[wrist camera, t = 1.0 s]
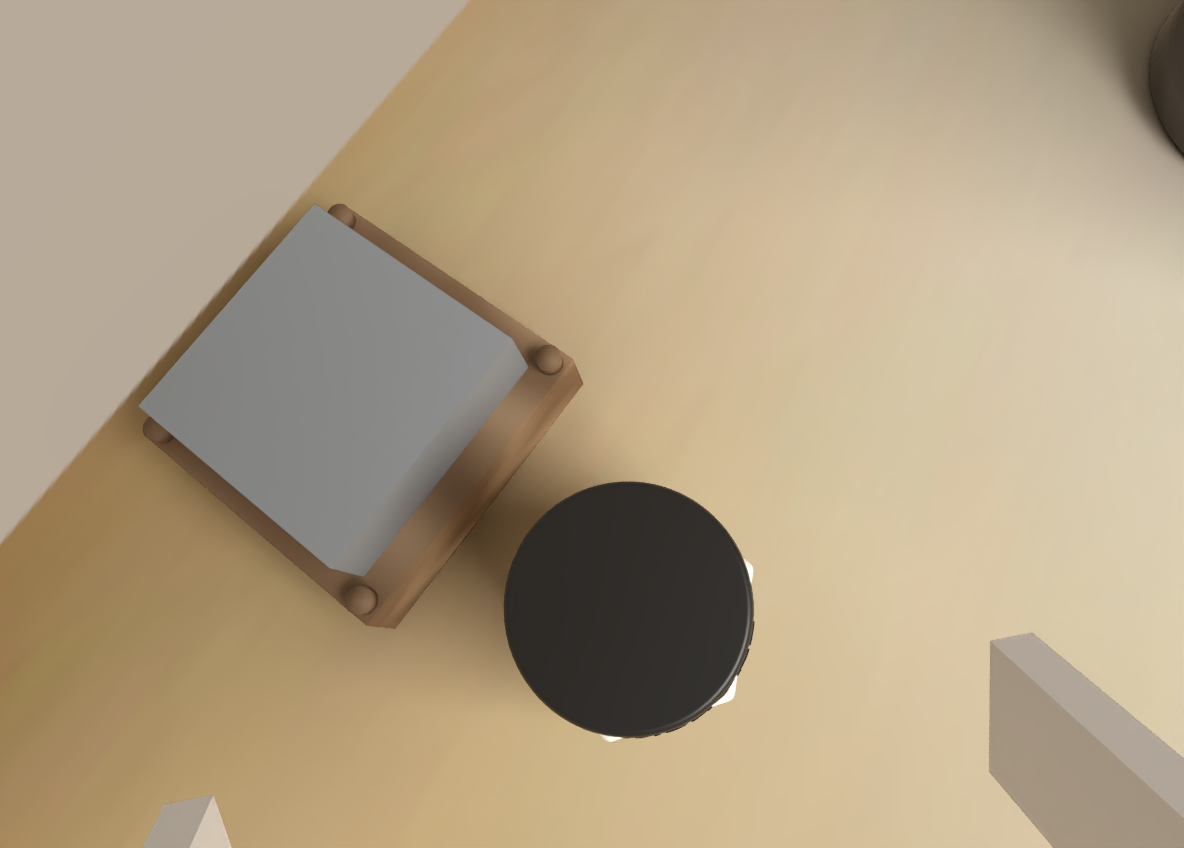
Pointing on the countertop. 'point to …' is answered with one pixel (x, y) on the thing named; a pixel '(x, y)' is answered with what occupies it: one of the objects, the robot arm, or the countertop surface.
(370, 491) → the grey top brick
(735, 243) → the countertop surface
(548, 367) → the walnut base brick
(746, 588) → the jar
